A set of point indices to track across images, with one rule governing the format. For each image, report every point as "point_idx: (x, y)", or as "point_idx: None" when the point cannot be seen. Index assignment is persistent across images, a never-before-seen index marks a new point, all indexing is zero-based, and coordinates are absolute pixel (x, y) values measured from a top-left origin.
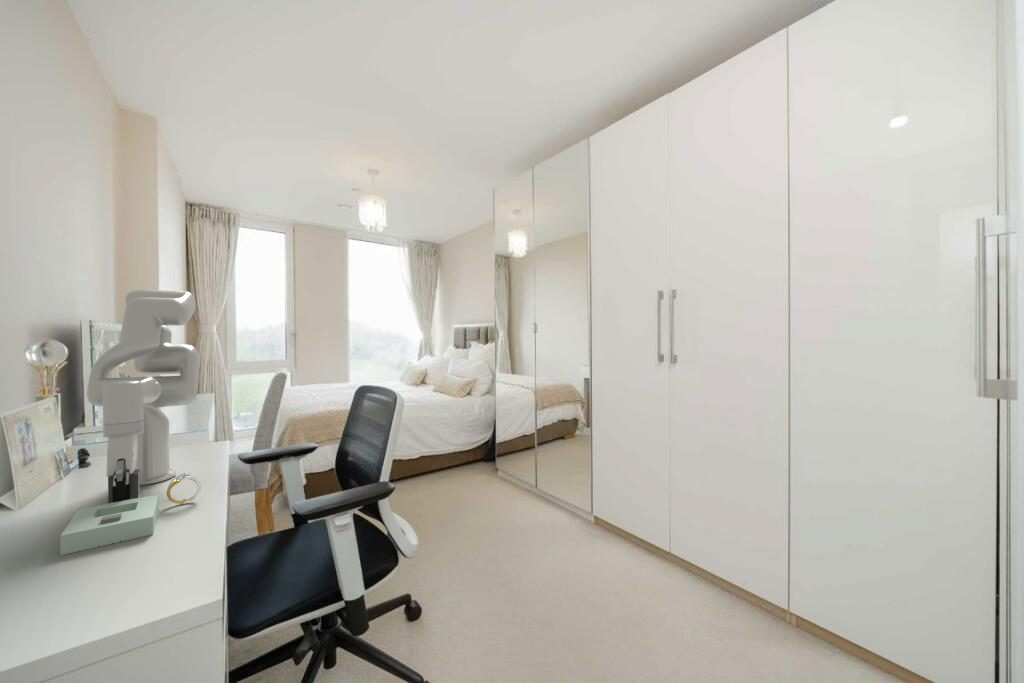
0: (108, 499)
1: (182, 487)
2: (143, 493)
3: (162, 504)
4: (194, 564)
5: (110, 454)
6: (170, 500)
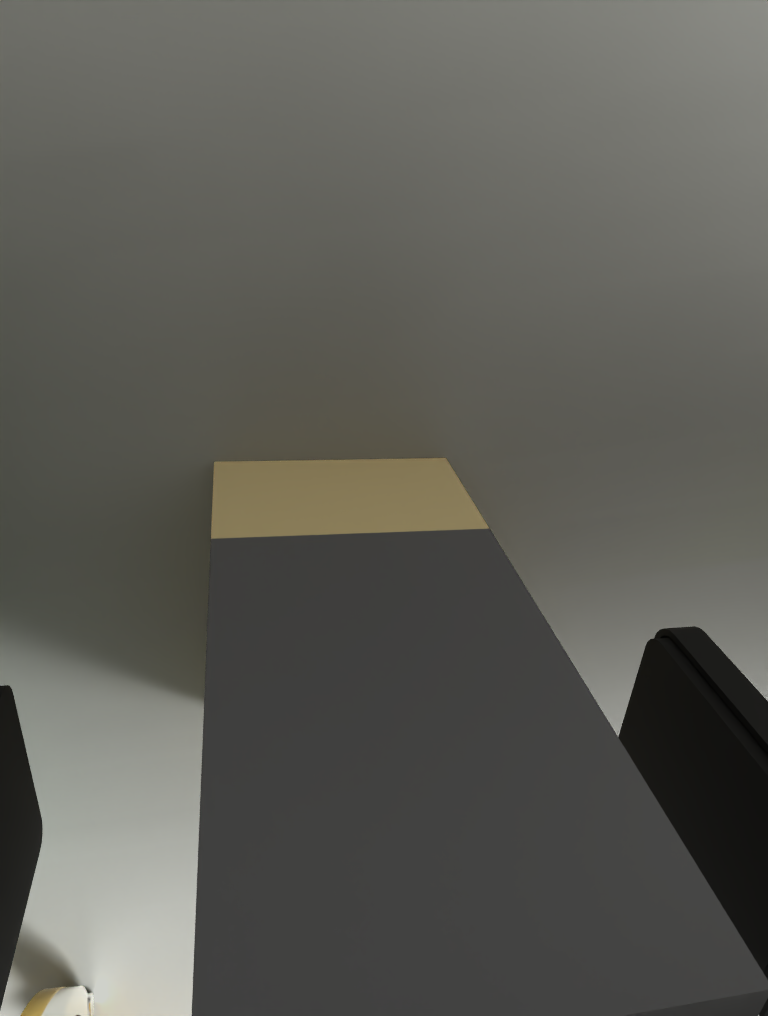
0: (214, 581)
1: None
2: (752, 666)
3: (187, 867)
4: None
5: None
6: (21, 1014)
